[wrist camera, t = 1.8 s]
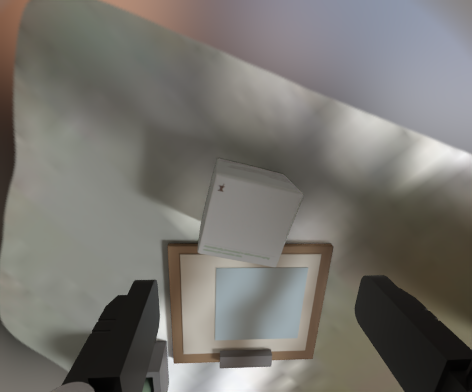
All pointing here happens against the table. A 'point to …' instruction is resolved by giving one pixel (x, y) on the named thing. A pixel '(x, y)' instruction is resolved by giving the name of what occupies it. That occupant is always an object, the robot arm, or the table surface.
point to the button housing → (159, 367)
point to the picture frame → (246, 305)
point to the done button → (148, 384)
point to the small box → (247, 213)
